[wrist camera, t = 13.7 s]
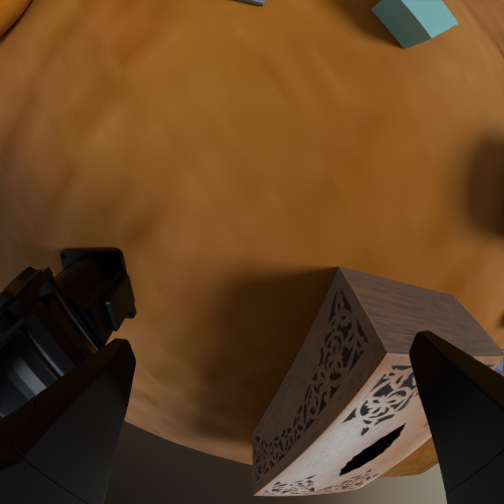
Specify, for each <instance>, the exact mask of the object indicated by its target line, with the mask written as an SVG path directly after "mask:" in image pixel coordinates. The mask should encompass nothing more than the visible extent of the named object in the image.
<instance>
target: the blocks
mask: <svg viewBox="0 0 504 504" xmlns="http://www.w3.org/2000/svg"><path fill="white" fill-rule="evenodd" d="M501 351H502V352H503V353H504V349H501ZM495 371H496V372H497V373H499V372H501V373H502V374H504V359H503V360H502V361H501V363H500V364H499V365H498V367H497V368H496V369H495Z"/></svg>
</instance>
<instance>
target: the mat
mask: <svg viewBox="0 0 504 504" xmlns="http://www.w3.org/2000/svg"><path fill="white" fill-rule="evenodd" d="M240 1H245V2H249V3H253V4H256V5H260V6H263V5H264V3H265V1H266V0H240Z"/></svg>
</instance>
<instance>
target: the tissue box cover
mask: <svg viewBox="0 0 504 504" xmlns="http://www.w3.org/2000/svg"><path fill="white" fill-rule="evenodd" d="M425 330H429V331H431V332H433V333H434V334H436V335H437V336H439V337H441V338H442V339H444V340H446V341H447V342H449V343H451V344H452V345H454V346H456V347H457V348H459V349H461V350H462V351H464V352H465V353H467V354H469V355H470V356H472V357H474V358H475V359H477V360H478V361H480V362H482V363H483V364H485V365H486V366H488V367H490V368H491V369H493V370H494V371H495V369H496V368H497V367H498V365H499V364H500V363H501V361H502V360H503V359H504V353H503V352H502V351H501V349H500V348H499V347H498V346H497V344H496V343H495V342H494V341H493V340H492V338H491V337H490V336H489V335H488V334H487V333H486V331H485V330H484V329H483V328H482V327H481V326H480V324H479V323H478V322H477V321H476V320H475V319H474V318H473V317H472V316H471V314H470V313H469V312H468V311H467V310H466V309H465V308H464V307H463V306H462V305H461V304H460V303H459V302H458V301H457V300H456V299H455V298H454V296H451V295H447V294H443V293H439V292H435V291H432V290H428V289H424V288H420V287H416V286H412V285H408V284H405V283H401V282H397V281H393V280H389V279H385V278H381V277H377V276H373V275H370V274H366V273H362V272H358V271H354V270H350V269H346V268H342V267H339V268H338V270H337V272H336V275H335V277H334V279H333V281H332V284H331V286H330V288H329V290H328V293H327V295H326V297H325V299H324V301H323V303H322V306H321V308H320V310H319V312H318V314H317V316H316V318H315V320H314V322H313V324H312V326H311V328H310V330H309V332H308V334H307V336H306V338H305V340H304V342H303V344H302V346H301V348H300V350H299V352H298V354H297V356H296V358H295V360H294V362H293V364H292V365H291V367H290V369H289V371H288V373H287V375H286V376H285V378H284V380H283V382H282V384H281V385H280V387H279V389H278V391H277V392H276V394H275V396H274V398H273V399H272V401H271V403H270V405H269V406H268V408H267V410H266V411H265V413H264V415H263V416H262V418H261V420H260V421H259V423H258V424H257V426H256V428H255V429H254V431H253V432H252V445H253V495H255V496H298V495H299V496H300V495H315V494H326V493H335V492H342V491H349V490H355V489H360V488H361V487H363V486H365V485H366V484H368V483H370V482H371V481H373V480H374V479H376V478H378V477H379V476H381V475H382V474H384V473H385V472H387V471H388V470H390V469H391V468H392V467H394V466H395V465H397V464H398V463H399V462H401V461H402V460H403V459H405V458H406V457H407V456H409V455H410V454H411V453H413V452H414V451H415V450H416V449H418V448H419V447H420V446H421V445H423V444H424V443H425V442H426V441H427V440H429V439H430V438H431V437H432V435H431V432H430V428H429V425H428V422H427V419H426V415H425V412H424V409H423V406H422V403H421V400H420V397H419V394H418V390H417V386H416V382H415V378H414V374H413V370H412V366H411V362H410V358H409V350H410V348H411V345H412V343H413V340H414V338H415V335H416V334H417V333H418V332H419V331H425Z"/></svg>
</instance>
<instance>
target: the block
mask: <svg viewBox="0 0 504 504" xmlns="http://www.w3.org/2000/svg"><path fill="white" fill-rule="evenodd" d="M371 11H372V12H373V13H374V14H375V15H376V16H377V17H378V18H379V19H380V21H381V22H382V23H383V24H384V25H385V26H386V27H387V29H388V30H389V31H390V32H391V33H392V35H393V36H394V37H395V38H396V40H397V41H398V42H399V43H400V45H401V46H402V47H403V49H407V48H409V47H411V46H414V45H416V44H419V43H421V42H424V41H426V40H429V39H432V38H433V37H435V36H437V35H439V34H440V33H442V32H444V31H446V30H447V29H449V28H451V27H453V26H454V25H456V24H458V22H457V20H456V19H455V17H454V16H453V15H452V13H451V12H450V11H449V9H448V8H447V7H446V5H445V4H444V3H443V2H442V0H381V1H380V2H379V3H377V4H376V5H375V6H374V7H373V8H372V9H371Z"/></svg>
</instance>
